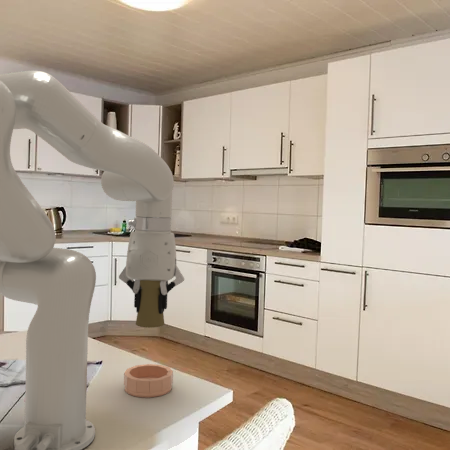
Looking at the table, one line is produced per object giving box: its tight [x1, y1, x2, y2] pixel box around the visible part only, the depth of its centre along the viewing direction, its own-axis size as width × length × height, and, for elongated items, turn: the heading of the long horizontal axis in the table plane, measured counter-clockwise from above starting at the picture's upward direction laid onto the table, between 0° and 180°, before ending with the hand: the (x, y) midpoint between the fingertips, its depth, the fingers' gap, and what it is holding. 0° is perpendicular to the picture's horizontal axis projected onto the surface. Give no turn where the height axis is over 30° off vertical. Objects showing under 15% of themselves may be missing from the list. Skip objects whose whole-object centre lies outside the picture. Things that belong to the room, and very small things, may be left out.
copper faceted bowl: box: [123, 363, 174, 399], centre depth 102 cm, size 10×10×4 cm
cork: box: [135, 280, 165, 329], centre depth 101 cm, size 6×6×11 cm
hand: (150, 310), depth 101 cm, fingers closed on cork, 4 cm apart
